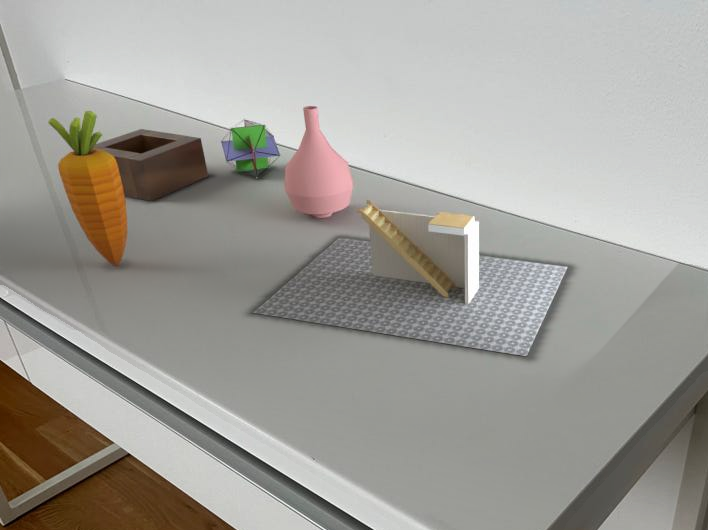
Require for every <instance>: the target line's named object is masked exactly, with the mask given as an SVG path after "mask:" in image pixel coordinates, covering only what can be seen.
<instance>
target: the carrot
mask: <svg viewBox="0 0 708 530" xmlns="http://www.w3.org/2000/svg"><path fill="white" fill-rule="evenodd" d="M97 116H98V115H97V114H96V113H95V112H93V111H92V110H86V111H84V114H83V118H82V123H81V118H80V117H74V118H73V120H72V121H71V122H70V124H69V130H68V131H67V130H66V128H65V126H64V125H63V124H61V123H60V122H59V121H58V120H57V119H56V118H55V117H51V118H50V119H49V120H48V121H47V123H48V124H49V125H50V126H51V127H52V128H53V130H55V131H56V132H57V133H58V134H59V135H60V136H61V138H62V139H63V140H64V142H66V143H67V145H68V146H69V147H70V148H71V150H72V151H70V152H68V153H67V154H66V155H64V156H63V157H62V158H61V159H60V160H59V161H58V165H57V166H58V173H59V176H60V179H61V182H62V185H63V188H64V191H65V193H66V196H67V199H68V201H69V204H70V207H71V210H72V212H73V214H74V216H75V218H76V220H77V222H78V224H79V226H80V228H81V229H82V231H83V233H84V234H85V236H86V238H87V240H88V241H89V243H91V245H92V246H93V248H94V249H95V250H96V251H97V252H98V253H99V254H100V256H102V257H103V258H104V259H105V261H107V262H108V263H109V264H111V265H112V266H115V267H117V266H119V264H120V263H121V262H122V260H123V256H124V252H125V249H126V245H127V237H128V215H127V213H128V212H127V204H126V203H127V201H126V198H125V197H126V196H124V191H123V186H122V181H121V177H120V173H119V168H118V164H117V162H116V159H115V158H114V156H112V155H111V154H109V153H107V152H105V151H102V150H100V149H92V148H93V147H94V145H95V144H97V143H98V142H99V140H100V139H101V138H102V136H103V133H102V132H101V131H96V132H94V128H95V125H96V122H97V118H98V117H97ZM93 132H94V133H93Z"/></svg>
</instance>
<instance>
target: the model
mask: <svg viewBox="0 0 708 530" xmlns="http://www.w3.org/2000/svg"><path fill="white" fill-rule="evenodd" d="M366 204H367V206H366V207H364V208H363V209H362V208H360V207H356V212H357V213H360V217H361V219H362V220H363V221H364V222H365V223H366V224H367V225H368V233H369V240H368V241H369V246H370V258H371V270H372V275H373V276H379V277H387V278H392V279H400V280H408V281H416V282H420V283H428V284H430V285H431V286H432V287H433V288H434V289H435V290H436V291H437V292H438V293H439V294H440V295H441V296H444V297H448V296H449V293H448V292H449V291H450V290H451V288H452V287H457V288H464V303H465V304H469V303H470V302H471V300H472V298H473V297H474V296H475V294H476V293H477V291H478V290H479V288H480V256H481V255H480V220H475V215H471V214H470V215H469V214H459V213H453V212H444V211H438V212H437V213H436V214H435V215H430V214H422V213H414V212H412V213H411V212H404V211H395V210H388V209H379V207H377V206H376V205H375V204H374V203H373V202H372V201H371V200H370V199H366Z"/></svg>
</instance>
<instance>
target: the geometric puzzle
mask: <svg viewBox="0 0 708 530" xmlns="http://www.w3.org/2000/svg"><path fill="white" fill-rule="evenodd" d="M241 122H244V126H239V127H238V124H241ZM235 126H236V127H230V129H229V130H228V133H226V134H225V136H226V137H227V136H229V137H231V138H232V139H231V138H229V140H225V137H223V138H222V140H220V143H221V146H222V150H223V154H224V157H225V162H226V163H227V164H229V165H231V166H233V168H234V170H235V172H237V173H241V174H244V175H246V176H250V177H253V178H256V179H258V178H259V177H260V176H261V175H262V174H264V172H266V171H267V170H268V169H270V167H271V166H272V165H273V163H275V162H276V161H277V159H274V160H273V161H272V162H271V160H269V158H271V157H272V158H273V157H281V156H282V155H281V154H280V151H279V149H278V145H277V142H276V139H275V135H273V133H272V132H271V131H269V128H268V127H267V126H266V124H262V123H259V122H256V121H251V120H248V119H245V118H243V119H242V120H241V121H239V122H238V123H237V124H236V125H235ZM234 162H235V164H234ZM259 169H261V170H262V169H264V170H263V171H262V172H260V174H259V175H258V170H259ZM252 170H254V173H255V175H252V174H249V172H248V171H252ZM244 172H246V173H244Z"/></svg>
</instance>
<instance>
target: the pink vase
mask: <svg viewBox="0 0 708 530" xmlns="http://www.w3.org/2000/svg"><path fill="white" fill-rule="evenodd" d="M302 111H303V118H304V126H305V130H304V134H303V136H302V138H301V141H300V144H299V147H298V148H297V150H296V152H295V153H294V154H293V155H292V157H291V158H290V160H289V161H288V162H287V164H286V165H285V171H284V191H285V193H286V196H287V198H288V200H289V202H290V205H291V206H292V208H293V209H294V210H295V211H296V212H300V213H303V214H309V215H312V217H314V218H318V219H324V218H325V219H326V218H329V217H331V216H333V213H336V212H339V211H342V210H344V209H346V208H347V207H348V206H349V205H350V204H351V199H352V196H353V190H354V184H355V183H354V180H353V177H352V173H351V169H350V166H349V162H348V161H347V160H346V159H344V157H343V156H341V155H340V154H339V153H338V152H337V151H336V150H335V149H334V148H333V147H332V146H331V144H330V143H329V141H328V140H327V138H326V136H325V135H324V133H323V132H322V130H321V128H320V127H321V126H320V119H319V117H320V116H319V109H318V106H316V105H315V106H314V105H306V106H303V107H302Z"/></svg>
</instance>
